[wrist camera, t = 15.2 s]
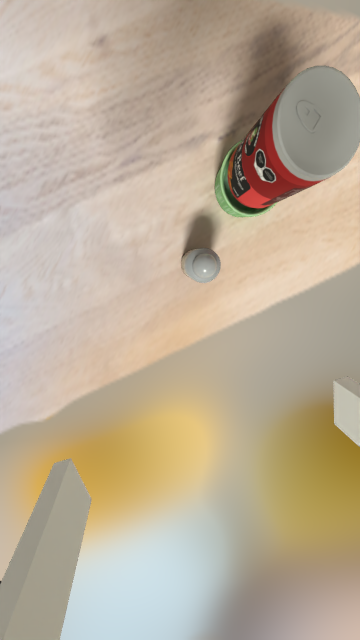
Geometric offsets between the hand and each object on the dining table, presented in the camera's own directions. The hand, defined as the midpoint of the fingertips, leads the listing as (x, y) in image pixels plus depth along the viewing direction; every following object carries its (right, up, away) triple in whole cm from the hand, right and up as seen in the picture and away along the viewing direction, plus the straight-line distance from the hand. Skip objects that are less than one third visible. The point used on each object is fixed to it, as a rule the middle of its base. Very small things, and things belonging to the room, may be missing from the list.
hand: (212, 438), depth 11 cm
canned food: (+8, +24, +18) cm, 31 cm away
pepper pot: (+1, +15, +24) cm, 28 cm away
